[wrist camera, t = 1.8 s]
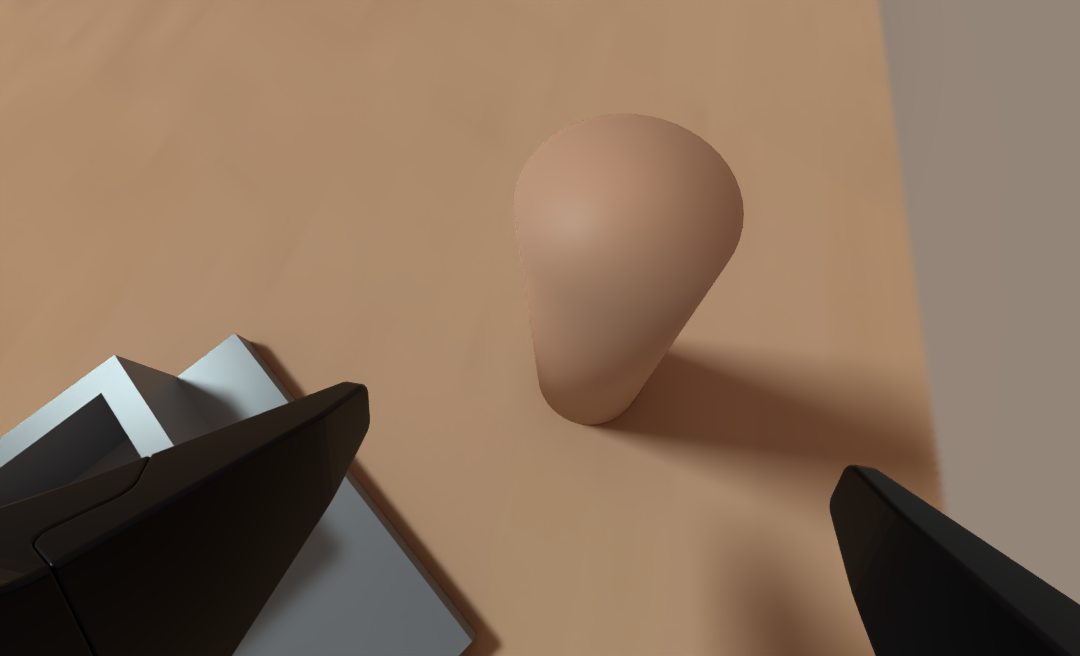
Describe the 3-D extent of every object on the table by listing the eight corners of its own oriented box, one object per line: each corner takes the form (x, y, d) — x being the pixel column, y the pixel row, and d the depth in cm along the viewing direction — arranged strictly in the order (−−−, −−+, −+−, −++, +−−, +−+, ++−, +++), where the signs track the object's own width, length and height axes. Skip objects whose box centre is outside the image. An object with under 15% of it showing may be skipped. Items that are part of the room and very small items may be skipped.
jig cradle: (476, 634, 18) (454, 667, 14) (128, 1004, 14) (-22, 1177, 11) (247, 339, 22) (184, 304, 18) (-57, 573, 19) (-207, 588, 15)
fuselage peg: (660, 374, 21) (791, 201, 9) (589, 446, 20) (635, 356, 8) (587, 308, 22) (620, 81, 10) (517, 373, 21) (467, 203, 9)
